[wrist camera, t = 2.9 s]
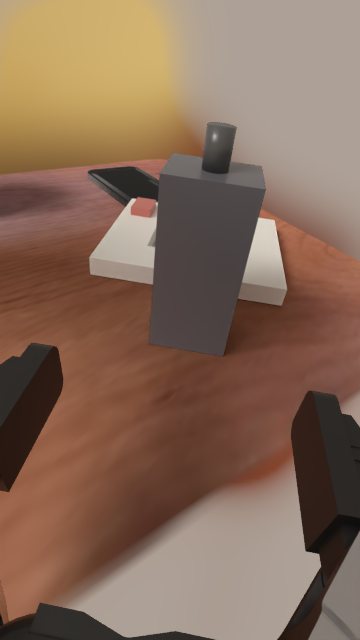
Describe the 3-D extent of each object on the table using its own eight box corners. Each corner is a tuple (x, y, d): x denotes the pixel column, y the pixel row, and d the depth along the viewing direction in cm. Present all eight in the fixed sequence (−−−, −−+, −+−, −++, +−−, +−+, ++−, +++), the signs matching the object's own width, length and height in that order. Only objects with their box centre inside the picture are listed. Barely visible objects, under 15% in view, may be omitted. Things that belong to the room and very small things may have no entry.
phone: (141, 211, 38) (85, 170, 47) (140, 221, 39) (85, 178, 48) (196, 202, 42) (135, 165, 51) (195, 211, 43) (135, 173, 52)
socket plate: (90, 274, 29) (88, 248, 27) (131, 212, 40) (132, 191, 38) (281, 305, 28) (290, 281, 27) (270, 233, 39) (276, 213, 37)
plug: (149, 343, 23) (162, 125, 15) (160, 308, 26) (176, 111, 18) (223, 356, 23) (277, 142, 15) (225, 319, 26) (271, 125, 18)
